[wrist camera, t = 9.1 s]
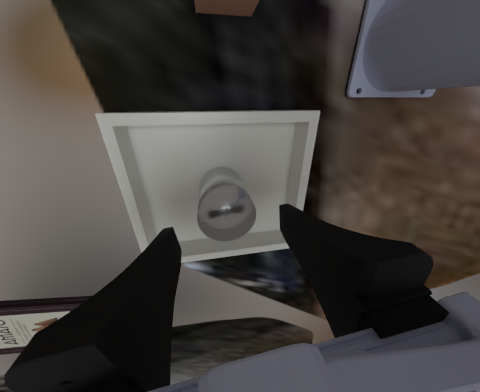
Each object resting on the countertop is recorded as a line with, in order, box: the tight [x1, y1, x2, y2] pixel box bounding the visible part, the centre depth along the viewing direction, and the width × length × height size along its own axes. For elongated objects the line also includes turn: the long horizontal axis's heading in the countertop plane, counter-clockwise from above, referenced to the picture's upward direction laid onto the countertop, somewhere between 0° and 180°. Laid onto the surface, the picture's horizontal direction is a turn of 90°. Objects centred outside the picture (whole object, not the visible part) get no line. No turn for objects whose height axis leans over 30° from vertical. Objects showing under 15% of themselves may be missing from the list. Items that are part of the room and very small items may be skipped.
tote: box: [95, 110, 320, 263], centre depth 17 cm, size 16×14×3 cm
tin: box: [197, 167, 256, 241], centre depth 16 cm, size 4×4×6 cm
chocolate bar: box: [0, 296, 92, 355], centre depth 24 cm, size 9×1×18 cm
